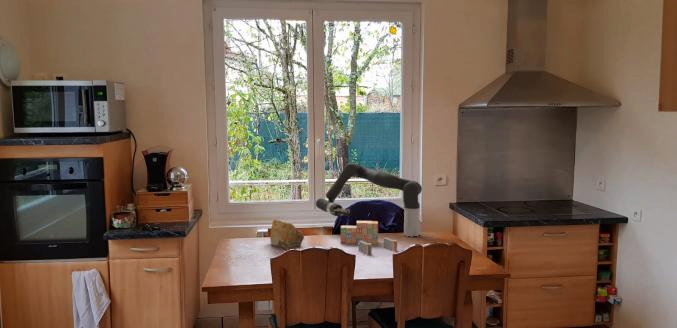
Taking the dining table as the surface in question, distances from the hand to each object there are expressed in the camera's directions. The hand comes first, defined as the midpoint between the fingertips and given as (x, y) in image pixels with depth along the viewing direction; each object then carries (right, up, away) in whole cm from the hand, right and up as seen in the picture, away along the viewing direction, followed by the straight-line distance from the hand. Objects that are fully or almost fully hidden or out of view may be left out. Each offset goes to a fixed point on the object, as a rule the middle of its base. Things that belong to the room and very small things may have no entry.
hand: (347, 214), depth 274 cm
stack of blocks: (+7, -15, -12) cm, 21 cm away
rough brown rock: (-33, -16, -22) cm, 43 cm away
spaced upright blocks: (+16, -16, -29) cm, 37 cm away
